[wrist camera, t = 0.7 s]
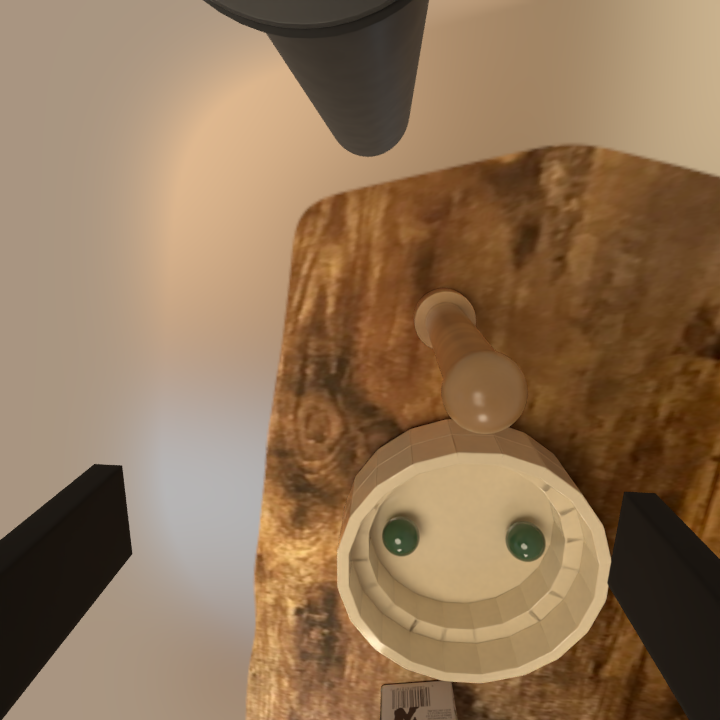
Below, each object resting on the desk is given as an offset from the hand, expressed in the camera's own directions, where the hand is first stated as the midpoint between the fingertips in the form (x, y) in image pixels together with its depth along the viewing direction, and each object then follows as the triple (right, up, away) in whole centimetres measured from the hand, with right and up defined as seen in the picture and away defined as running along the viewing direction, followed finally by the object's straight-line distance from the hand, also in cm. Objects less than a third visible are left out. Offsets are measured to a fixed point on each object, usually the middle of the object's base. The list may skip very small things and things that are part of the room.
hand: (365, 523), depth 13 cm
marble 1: (+3, -9, +23) cm, 25 cm away
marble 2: (+12, -9, +23) cm, 27 cm away
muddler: (+6, +7, +21) cm, 23 cm away
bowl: (+7, -8, +25) cm, 27 cm away
